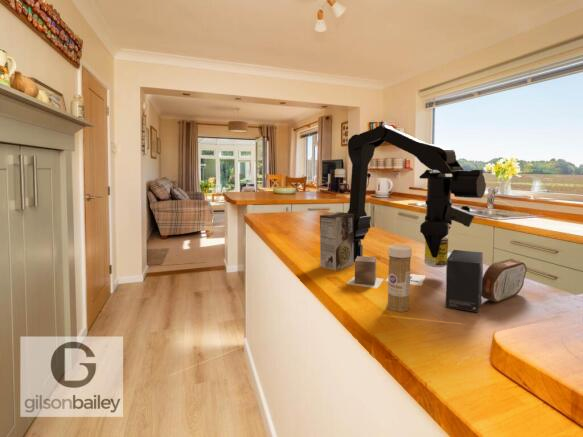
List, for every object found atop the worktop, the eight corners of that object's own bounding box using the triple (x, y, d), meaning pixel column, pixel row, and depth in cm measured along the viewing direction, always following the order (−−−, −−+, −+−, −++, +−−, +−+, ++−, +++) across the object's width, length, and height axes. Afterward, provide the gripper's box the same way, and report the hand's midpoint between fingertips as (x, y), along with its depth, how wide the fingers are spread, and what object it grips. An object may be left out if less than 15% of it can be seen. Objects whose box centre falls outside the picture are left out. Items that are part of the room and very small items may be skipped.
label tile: (385, 281, 89) (385, 280, 89) (392, 272, 97) (392, 271, 97) (421, 286, 85) (421, 285, 85) (425, 276, 93) (425, 275, 93)
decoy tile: (345, 284, 88) (345, 283, 88) (355, 275, 95) (355, 275, 95) (376, 288, 84) (376, 288, 84) (384, 279, 91) (384, 278, 91)
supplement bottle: (438, 269, 87) (440, 230, 86) (420, 264, 92) (421, 227, 90) (451, 265, 90) (453, 227, 89) (432, 261, 95) (434, 225, 93)
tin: (511, 289, 82) (516, 255, 80) (526, 293, 79) (530, 258, 78) (477, 302, 74) (481, 264, 72) (492, 307, 71) (496, 268, 70)
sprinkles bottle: (383, 309, 72) (384, 246, 70) (392, 302, 75) (394, 242, 73) (404, 314, 69) (406, 249, 67) (413, 307, 72) (415, 245, 70)
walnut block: (354, 283, 88) (354, 260, 87) (357, 277, 92) (357, 256, 92) (374, 285, 86) (374, 262, 85) (376, 279, 91) (376, 257, 90)
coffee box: (337, 261, 110) (337, 211, 108) (354, 264, 105) (354, 213, 103) (319, 267, 104) (318, 214, 101) (336, 271, 99) (336, 216, 97)
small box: (480, 313, 68) (480, 262, 67) (444, 308, 71) (444, 259, 70) (483, 296, 77) (484, 251, 76) (451, 292, 80) (451, 249, 79)
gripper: (473, 200, 77) (469, 267, 79) (473, 194, 93) (470, 250, 95) (421, 199, 82) (418, 262, 84) (429, 193, 98) (427, 246, 100)
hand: (435, 254), depth 91 cm, fingers closed on supplement bottle, 6 cm apart
